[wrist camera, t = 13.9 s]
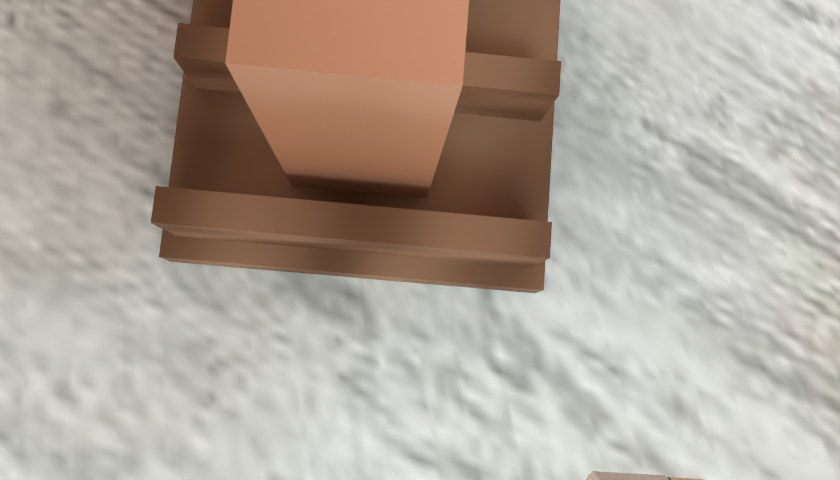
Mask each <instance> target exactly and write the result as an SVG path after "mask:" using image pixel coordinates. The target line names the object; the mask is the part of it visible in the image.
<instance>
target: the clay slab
mask: <svg viewBox="0 0 840 480" xmlns="http://www.w3.org/2000/svg"><path fill="white" fill-rule="evenodd" d="M468 8H469V0H233V5H232V13H231V21H230V29H229V37H228V45H227V53H226V61H225V64H226V66H227V67H228V69H229V71H230V73H231V75H232V77H233V78H234V80H235V82H236V84H237V86H238V88H239V89H240V91H241V93H242V95H243V97H244V99H245V100H246V102H247V104H248V106H249V108H250V110H251V111H252V113H253V115H254V117H255V119H256V121H257V123H258V124H259V126H260V128H261V130H262V132H263V134H264V135H265V137H266V139H267V141H268V143H269V145H270V146H271V148H272V150H273V152H274V154H275V156H276V157H277V159H278V161H279V163H280V165H281V167H282V168H283V170H284V172H285V174H286V176H287V178H288V180H289V181H290V183H291V185H292V186H302V187H313V188H324V189H335V190H346V191H357V192H368V193H379V194H390V195H401V196H412V197H423V198H427V196H428V193H429V190H430V186H431V183H432V180H433V177H434V174H435V171H436V168H437V165H438V161H439V158H440V155H441V152H442V149H443V146H444V143H445V140H446V136H447V133H448V130H449V127H450V124H451V121H452V118H453V115H454V111H455V108H456V105H457V102H458V99H459V96H460V93H461V90H462V86H463V74H464V61H465V48H466V35H467V21H468Z"/></svg>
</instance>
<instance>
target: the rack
mask: <svg viewBox="0 0 840 480" xmlns="http://www.w3.org/2000/svg"><path fill="white" fill-rule="evenodd" d="M232 5H233V0H194V1H193V8H192V16H191V23H190V24H182V23H178V28H177V35H176V43H175V50H174V59H175V60H176V61H177V63H178V64H179V66H180V67H181V68H182V70H183V71H184V75H183V83H182V90H181V98H180V105H179V113H178V120H177V128H176V135H175V142H174V150H173V157H172V165H171V172H170V180H169V187H160V186H156V189H155V196H154V204H153V211H152V218H151V223H153V224H155V225H157V226H158V227H160V228H162V229H163V232H162V239H161V247H160V254H159V257H161V258H163V259H166V260H168V261H171V262H183V263H194V264H206V265H217V266H229V267H241V268H252V269H264V270H275V271H287V272H298V273H310V274H321V275H333V276H344V277H356V278H367V279H379V280H390V281H402V282H414V283H425V284H437V285H448V286H460V287H471V288H483V289H494V290H506V291H517V292H529V293H537V292H540V291H542V290H544V273H545V260H547V259H549V258H550V245H551V228H552V222H548V204H549V187H550V170H551V152H552V135H553V118H554V101H555V100H556V99H557V97H558V96H559V87H560V70H561V61H557V49H558V32H559V14H560V0H469V8H468V21H467V35H466V48H465V61H464V74H463V86H462V90H461V93H460V96H459V99H458V102H457V105H456V108H455V111H454V115H453V118H452V121H451V124H450V127H449V130H448V133H447V136H446V140H445V143H444V146H443V149H442V152H441V155H440V158H439V161H438V165H437V168H436V171H435V174H434V177H433V180H432V183H431V186H430V190H429V193H428V196H427V198H423V197H412V196H401V195H390V194H379V193H368V192H357V191H346V190H335V189H324V188H313V187H302V186H292V185H291V183H290V181H289V180H288V178H287V176H286V174H285V172H284V170H283V168H282V167H281V165H280V163H279V161H278V159H277V157H276V156H275V154H274V152H273V150H272V148H271V146H270V145H269V143H268V141H267V139H266V137H265V135H264V134H263V132H262V130H261V128H260V126H259V124H258V123H257V121H256V119H255V117H254V115H253V113H252V111H251V110H250V108H249V106H248V104H247V102H246V100H245V99H244V97H243V95H242V93H241V91H240V89H239V88H238V86H237V84H236V82H235V80H234V78H233V77H232V75H231V73H230V71H229V69H228V67H227V66H226V64H225V61H226V53H227V45H228V37H229V29H230V21H231V13H232Z"/></svg>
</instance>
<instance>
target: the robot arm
mask: <svg viewBox="0 0 840 480" xmlns="http://www.w3.org/2000/svg"><path fill="white" fill-rule="evenodd" d="M586 480H703V479H692V478H674V477H666V476H663V475H647V474H630V473H614V472H597V471H593V472H592V473H591V474H589V475H588V477H587V479H586Z"/></svg>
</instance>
